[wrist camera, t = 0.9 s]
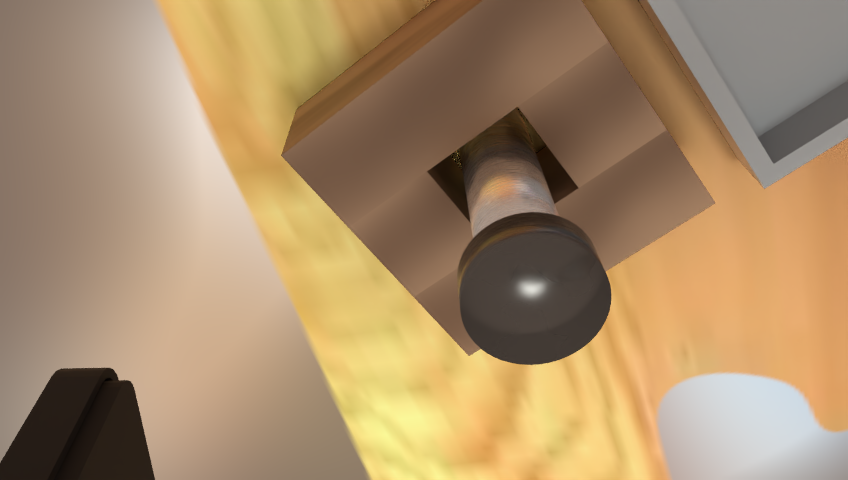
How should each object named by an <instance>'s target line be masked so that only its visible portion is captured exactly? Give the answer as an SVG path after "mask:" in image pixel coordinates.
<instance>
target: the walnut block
mask: <svg viewBox="0 0 848 480" xmlns="http://www.w3.org/2000/svg"><path fill="white" fill-rule="evenodd" d="M516 107H518V108H519V109H520V110H521V112H522V113H523V114H524V116H525V117H526V118H527V120H528V121H529V122H530V124H531V125H532V126H533V128H534V129H535V130H536V132H537V133H538V134H539V136H540V137H541V138H542V140H543V141H544V142H545V144H546V145H547V147H545V148H544V149H542V150H541V151H539V152H538V153H536V155H537V158H538V161H539V163H540V166H541V169H542V172H543V174H544V177H545V180H546V182H547V185H548V188H549V191H550V193H551V196H552V199H553V202H554V204H555V207H556V210H557V212H558V215H559V216H560V217H562V218H565V219H567V220H569V221H571V222H572V223H574V224H576V225H577V226H578V227H579V228H581V229H582V230H583V231H584V232H585V233H586V234H587V235H588V237H589V238H590V239H591V241H592V243H593V244H594V246H595V249H596V251H597V253H598V256H599V258H600V260H601V263H602V265H603V268H604V270H605V271H607V270H608V269H610V268H612V267H613V266H615V265H616V264H618V263H620V262H621V261H623V260H625V259H626V258H628V257H629V256H631V255H633V254H634V253H636V252H637V251H639V250H641V249H642V248H644V247H645V246H647V245H649V244H650V243H652V242H654V241H655V240H657V239H658V238H660V237H662V236H663V235H665V234H666V233H668V232H670V231H671V230H673V229H674V228H676V227H678V226H679V225H681V224H683V223H684V222H686V221H687V220H689V219H691V218H692V217H694V216H695V215H697V214H699V213H700V212H702V211H704V210H705V209H707V208H708V207H710V206H712V205H713V204H715V201H714V200H713V198H712V197H711V195H710V194H709V192H708V191H707V189H706V188H705V186H704V185H703V183H702V182H701V180H700V179H699V177H698V176H697V174H696V173H695V171H694V170H693V168H692V167H691V165H690V164H689V162H688V161H687V159H686V158H685V156H684V155H683V153H682V151H681V150H680V148H679V147H678V145H677V144H676V142H675V141H674V139H673V138H672V136H671V135H670V133H669V132H668V130H667V129H666V127H665V126H664V124H663V123H662V121H661V120H660V118H659V117H658V115H657V114H656V112H655V111H654V109H653V108H652V106H651V105H650V103H649V102H648V100H647V99H646V97H645V96H644V94H643V93H642V91H641V90H640V88H639V87H638V85H637V84H636V82H635V81H634V79H633V77H632V76H631V74H630V73H629V71H628V70H627V68H626V67H625V65H624V64H623V62H622V61H621V59H620V58H619V56H618V55H617V53H616V52H615V50H614V49H613V47H612V46H611V44H610V43H609V41H608V40H607V38H606V37H605V35H604V34H603V32H602V31H601V29H600V28H599V26H598V25H597V23H596V22H595V20H594V19H593V17H592V16H591V14H590V13H589V11H588V10H587V8H586V6H585V5H584V3H583V2H582V0H435V1H434V2H433V3H431V4H430V5H429V6H428V7H426V8H425V9H424V10H423V11H421V12H420V13H419V14H417V15H416V16H415V17H414V18H412V19H411V20H410V21H409V22H407V23H406V24H405V25H403V26H402V27H401V28H400V29H398V30H397V31H396V32H395V33H393V34H392V35H391V36H389V37H388V38H387V39H386V40H384V41H383V42H382V43H381V44H379V45H378V46H377V47H375V48H374V49H373V50H372V51H370V52H369V53H368V54H367V55H365V56H364V57H363V58H361V59H360V60H359V61H358V62H356V63H355V64H354V65H353V66H351V67H350V68H349V69H347V70H346V71H345V72H344V73H342V74H341V75H340V76H339V77H337V78H336V79H335V80H333V81H332V82H331V83H330V84H328V85H327V86H326V87H325V88H323V89H322V90H321V91H319V92H318V93H317V94H316V95H314V96H313V97H312V98H311V99H309V100H308V101H307V102H305V103H304V104H303V105H302V106H300V107H299V108H298V109H297V110H296V113H295V116H294V119H293V122H292V125H291V128H290V131H289V134H288V137H287V140H286V143H285V146H284V149H283V152H282V155H281V156H282V157H283V158H284V159H285V160H286V161H287V162H288V163H289V164H290V165H291V167H292V168H293V169H294V170H295V171H296V172H297V173H298V174H299V175H300V176H301V177H302V178H303V179H304V180H305V181H306V183H307V184H308V185H309V186H310V187H311V188H312V189H313V190H314V191H315V192H316V193H317V194H318V195H319V196H320V197H321V199H322V200H323V201H324V202H325V203H326V204H327V205H328V206H329V207H330V208H331V209H332V210H333V211H334V212H335V213H336V215H337V216H338V217H339V218H340V219H341V220H342V221H343V222H344V223H345V224H346V225H347V226H348V227H349V228H350V229H351V231H352V232H353V233H354V234H355V235H356V236H357V237H358V238H359V239H360V240H361V241H362V242H363V243H364V244H365V245H366V247H367V248H368V249H369V250H370V251H371V252H372V253H373V254H374V255H375V256H376V257H377V258H378V259H379V260H380V262H381V263H382V264H383V265H384V266H385V267H386V268H387V269H388V270H389V271H390V272H391V273H392V274H393V275H394V276H395V278H396V279H397V280H398V281H399V282H400V283H401V284H402V285H403V286H404V287H405V288H406V289H407V290H408V291H409V292H410V294H411V295H412V296H413V297H414V298H415V299H416V300H417V301H418V302H419V303H420V304H421V305H422V306H423V307H424V308H425V310H426V311H427V312H428V313H429V314H430V315H431V316H432V317H433V318H434V319H435V320H436V321H437V322H438V323H439V324H440V326H441V327H442V328H443V329H444V330H445V331H446V332H447V333H448V334H449V335H450V336H451V337H452V338H453V339H454V340H455V342H456V343H457V344H458V345H459V346H460V347H461V348H462V349H463V350H464V351H465V352H466V353H467V354H468V355H469V356H470V355H471V354H473V353H475V352H476V351H478V350H479V349H481V348H480V347H479V346H478V345H476V344H475V343H474V341H473V340H472V339H471V338H470V336H469V335H468V333H467V331H466V330H465V327H464V325H463V322H462V318H461V313H460V304H459V295H458V286H457V270H458V265H459V261H460V259H461V256H462V254H463V252H464V250H465V248H466V247H467V245H468V244H469V243H470V241H471V240H472V239H473V235H472V229H471V222H470V216H469V210H468V203H467V197H466V191H465V184H464V178H463V171H462V170H461V169H460V167H459V166H458V165H457V164H456V163H455V161H454V160H453V159H452V158H451V157H450V155H451V154H452V153H453V152H455V151H456V150H458V149H459V148H460V147H462V146H463V145H465V144H466V143H467V142H469V141H470V140H472V139H473V138H474V137H476V136H477V135H479V134H480V133H481V132H483V131H484V130H486V129H487V128H488V127H490V126H491V125H493V124H494V123H495V122H497V121H498V120H500V119H501V118H502V117H504V116H505V115H507V114H508V113H509V112H511V111H512V110H514V109H515V108H516Z"/></svg>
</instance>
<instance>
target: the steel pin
mask: <svg viewBox="0 0 848 480" xmlns="http://www.w3.org/2000/svg"><path fill="white" fill-rule="evenodd" d="M459 152H460V159H461V165H462V171H463V178H464V184H465V191H466V197H467V203H468V210H469V216H470V222H471V229H472V235H473V239H472V240H471V241H470V243H469V244H468V245H467V247H466V248H465V250H464V252H463V254H462V256H461V259H460V261H459V265H458V270H457V286H458V295H459V304H460V313H461V318H462V322H463V325H464V327H465V330H466V331H467V333H468V335H469V336H470V338H471V339H472V340H473V341H474V343H475V344H476V345H478V346H479V347H480V348H481V349H482V350H484V351H485V352H486V353H488V354H490V355H492V356H493V357H495V358H498V359H500V360H503V361H507V362H511V363H516V364H527V365H533V364H543V363H549V362H553V361H556V360H560V359H562V358H565V357H567V356H569V355H571V354H573V353H575V352H577V351H578V350H580V349H581V348H583V347H584V346H585V345H586V344H588V343H589V342H590V341H591V340H592V339H593V338H594V337H595V336H596V335H597V333H598V332H599V331H600V329H601V328H602V326H603V324H604V322H605V321H606V318H607V316H608V313H609V310H610V305H611V288H610V283H609V280H608V277H607V275H606V272H605V270H604V268H603V265H602V263H601V260H600V258H599V256H598V253H597V251H596V249H595V246H594V244H593V243H592V241H591V239H590V238H589V237H588V235H587V234H586V233H585V232H584V231H583V230H582V229H581V228H579V227H578V226H577V225H576V224H574V223H572V222H571V221H569V220H567V219H565V218H562V217H560V216H559V215H558V212H557V210H556V207H555V204H554V202H553V199H552V196H551V193H550V191H549V188H548V185H547V182H546V180H545V177H544V174H543V172H542V169H541V166H540V163H539V161H538V158H537V155H536V153H535V150H534V147H533V144H532V142H531V139H530V136H529V133H528V131H527V128H526V125H525V123H524V120H523V117H522V115H521V114H520V112H519V111H518V110H517V109H516V108H515V109H514V110H512V111H511V112H509V113H508V114H507V115H505V116H504V117H502V118H501V119H500V120H498V121H497V122H495V123H494V124H493V125H491V126H490V127H488V128H487V129H486V130H484V131H483V132H481V133H480V134H479V135H477V136H476V137H474V138H473V139H472V140H470V141H469V142H467V143H466V144H465V145H463V146H462V147H460V148H459Z"/></svg>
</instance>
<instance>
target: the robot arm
mask: <svg viewBox="0 0 848 480" xmlns="http://www.w3.org/2000/svg"><path fill="white" fill-rule="evenodd" d="M0 480H155V478H154V474H153V469H152V465H151V460H150V456H149V451H148V447H147V443H146V438H145V434H144V429H143V426H142V420H141V416H140V412H139V407H138V403H137V399H136V394H135V390H134V387H133V384H132V383H131V382H130V381H127V380H126V381H125V380H123V381H119V380H118V377H117V374H116V373H115V371H114V370H113V369H111V368H73V369H60V370H57V371H56V372H55V373H54V374H53V376H52V377H51V379H50V380H49V382H48V383H47V385H46V387H45V389H44V390H43V392H42V394H41V395H40V397H39V399H38V400H37V402H36V404H35V405H34V407H33V409H32V410H31V412H30V414H29V415H28V417H27V419H26V420H25V422H24V424H23V425H22V427H21V429H20V431H19V432H18V434H17V436H16V437H15V439H14V441H13V442H12V444H11V446H10V447H9V449H8V451H7V452H6V454H5V456H4V457H3V459H2V461H1V463H0Z"/></svg>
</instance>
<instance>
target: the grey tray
mask: <svg viewBox="0 0 848 480" xmlns="http://www.w3.org/2000/svg"><path fill="white" fill-rule="evenodd" d="M638 1H639V2H640V4H641V6H642V7H643V9H644V10H645V12H646V14H647V15H648V17H649V18H650V20H651V21H652V23H653V25H654V26H655V28H656V29H657V31H658V33H659V34H660V36H661V37H662V39H663V41H664V42H665V44H666V45H667V47H668V49H669V50H670V52H671V53H672V55H673V57H674V58H675V60H676V61H677V63H678V65H679V66H680V68H681V69H682V71H683V73H684V74H685V76H686V77H687V79H688V81H689V82H690V84H691V85H692V87H693V88H694V90H695V92H696V93H697V95H698V96H699V98H700V100H701V101H702V103H703V104H704V106H705V108H706V109H707V111H708V112H709V114H710V116H711V117H712V119H713V120H714V122H715V124H716V125H717V127H718V128H719V130H720V132H721V133H722V135H723V136H724V138H725V140H726V141H727V143H728V144H729V146H730V147H731V149H732V151H733V152H734V154H735V155H736V157H737V159H738V160H739V161H740V162H741V163H742V165H743V166H744V167H745V168H746V169H747V170H748V171H749V172H750V173H751V174H752V176H753V177H754V178H755V179H756V180H757V181H758V182H759V183H760V184H761V185H762V187H763V188H764V189H765V188H766V187H768V186H770V185H771V184H773V183H775V182H776V181H778V180H779V179H781V178H783V177H784V176H786V175H788V174H789V173H791V172H792V171H794V170H796V169H797V168H799V167H801V166H802V165H804V164H805V163H807V162H809V161H810V160H812V159H814V158H815V157H817V156H818V155H820V154H822V153H823V152H825V151H827V150H828V149H830V148H832V147H833V146H835V145H836V144H838V143H840V142H841V141H843V140H845V139H846V138H848V0H638Z"/></svg>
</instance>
